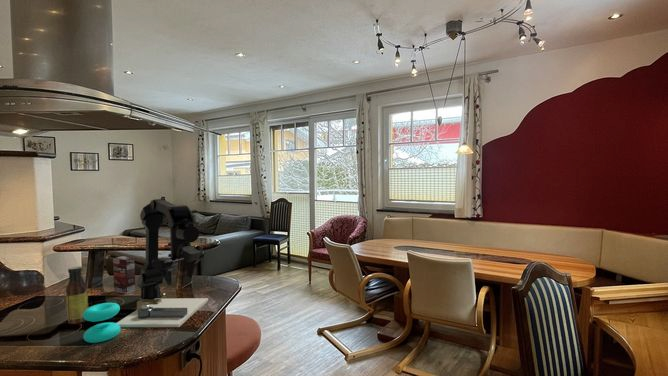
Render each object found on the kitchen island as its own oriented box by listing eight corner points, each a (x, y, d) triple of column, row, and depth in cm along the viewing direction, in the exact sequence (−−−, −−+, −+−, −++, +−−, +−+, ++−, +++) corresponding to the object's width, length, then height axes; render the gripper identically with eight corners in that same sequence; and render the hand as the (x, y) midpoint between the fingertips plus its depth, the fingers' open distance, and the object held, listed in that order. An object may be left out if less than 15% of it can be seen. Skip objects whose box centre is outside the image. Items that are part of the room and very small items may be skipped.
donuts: (80, 307, 108) (116, 299, 115) (81, 337, 108) (116, 327, 115) (85, 315, 101) (123, 306, 108) (86, 347, 101) (123, 336, 108)
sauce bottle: (93, 319, 122) (91, 266, 122) (75, 326, 116) (73, 270, 116) (80, 316, 125) (79, 264, 124) (62, 323, 119) (60, 269, 118)
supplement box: (113, 292, 152) (112, 258, 151) (123, 289, 156) (122, 255, 156) (126, 294, 149) (125, 259, 148) (136, 290, 153) (135, 257, 153)
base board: (114, 327, 115) (114, 324, 115) (154, 300, 140) (154, 298, 140) (179, 327, 115) (178, 324, 115) (208, 300, 140) (207, 298, 140)
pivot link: (134, 318, 120) (134, 308, 119) (143, 313, 125) (142, 302, 124) (182, 318, 119) (182, 307, 119) (188, 312, 124) (188, 302, 124)
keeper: (136, 312, 126) (136, 301, 125) (141, 309, 129) (141, 299, 128) (157, 312, 125) (157, 301, 125) (161, 309, 128) (161, 299, 128)
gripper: (173, 245, 110) (174, 291, 110) (214, 236, 127) (215, 276, 127) (150, 243, 114) (151, 288, 115) (193, 235, 131) (194, 274, 132)
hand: (180, 281), depth 122 cm, fingers open, 9 cm apart
